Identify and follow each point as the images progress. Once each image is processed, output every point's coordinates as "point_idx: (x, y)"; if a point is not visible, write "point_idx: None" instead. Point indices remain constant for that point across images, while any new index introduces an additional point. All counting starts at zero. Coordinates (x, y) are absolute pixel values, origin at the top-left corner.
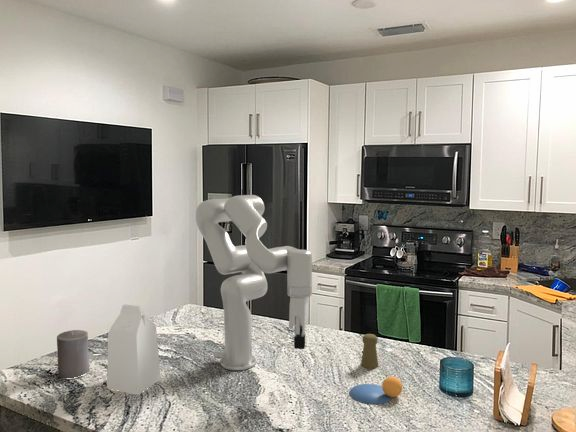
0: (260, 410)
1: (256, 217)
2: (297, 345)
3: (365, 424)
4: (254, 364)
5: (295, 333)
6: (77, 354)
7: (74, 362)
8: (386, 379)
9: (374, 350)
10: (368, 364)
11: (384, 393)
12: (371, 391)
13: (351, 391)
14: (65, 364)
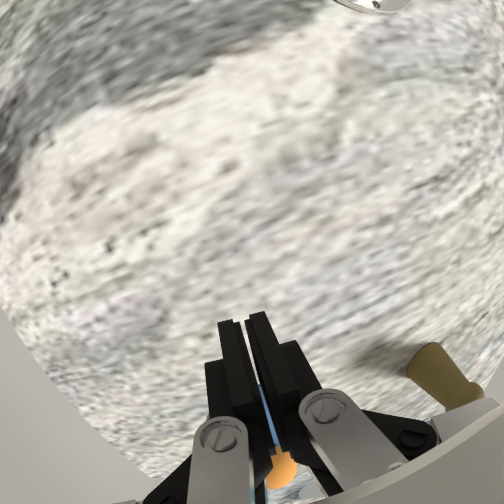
0: (20, 175)
1: None
2: (208, 372)
3: (114, 437)
4: (361, 9)
5: (193, 471)
6: None
7: None
8: (271, 477)
9: (438, 401)
10: (414, 373)
11: (273, 440)
12: None
13: (260, 390)
14: None
